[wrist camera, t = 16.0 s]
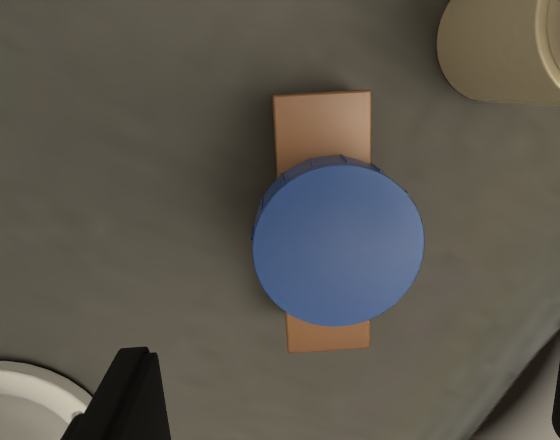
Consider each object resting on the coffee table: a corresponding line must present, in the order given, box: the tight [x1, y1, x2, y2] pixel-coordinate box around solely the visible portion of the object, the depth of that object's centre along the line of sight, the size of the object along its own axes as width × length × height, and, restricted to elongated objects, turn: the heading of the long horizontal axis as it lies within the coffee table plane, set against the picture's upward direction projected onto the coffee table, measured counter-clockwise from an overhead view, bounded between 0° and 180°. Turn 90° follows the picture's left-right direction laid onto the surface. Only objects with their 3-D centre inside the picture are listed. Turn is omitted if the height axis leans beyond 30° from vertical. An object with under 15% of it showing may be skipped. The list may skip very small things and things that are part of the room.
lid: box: [251, 155, 425, 327], centre depth 18 cm, size 7×7×2 cm
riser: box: [272, 90, 372, 353], centre depth 21 cm, size 12×4×4 cm, turn 3°
